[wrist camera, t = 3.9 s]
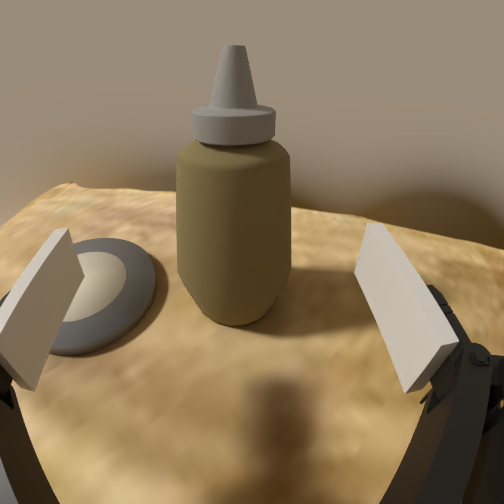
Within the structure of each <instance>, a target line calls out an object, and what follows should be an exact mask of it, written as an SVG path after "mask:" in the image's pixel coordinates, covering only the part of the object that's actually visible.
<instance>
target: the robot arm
mask: <svg viewBox="0 0 504 504" xmlns="http://www.w3.org/2000/svg"><path fill="white" fill-rule="evenodd" d="M354 274H355V276H356V278H357V280H358V282H359V284H360V286H361V289H362V291H363V293H364V295H365V297H366V300H367V302H368V304H369V306H370V309H371V311H372V313H373V315H374V318H375V320H376V322H377V325H378V327H379V329H380V332H381V334H382V337H383V339H384V341H385V344H386V346H387V349H388V351H389V354H390V356H391V359H392V361H393V364H394V366H395V369H396V372H397V374H398V377H399V380H400V382H401V385H402V388H403V390H404V393H405V394H406V393H410V392H414V391H418V390H421V389H423V388H424V386H425V385H426V384H427V383H428V382H429V380H430V382H431V385H432V388H431V389H430V391H429V392H428V393H427V394H426V395H425V396H424V397H423V398H422V400H421V401H420V404H422V403H423V402H424V401H425V400H426V399H427V400H426V402H425V405H424V408H423V411H422V414H421V416H420V419H419V422H418V424H417V427H416V429H415V432H414V434H413V437H412V439H411V441H410V444H409V446H408V448H407V451H406V453H405V455H404V457H403V459H402V461H401V463H400V466H399V468H398V470H397V472H396V474H395V476H394V478H393V480H392V481H391V483H390V485H389V487H388V489H387V491H386V493H385V494H384V496H383V498H382V500H381V501H380V503H379V504H460V503H461V504H504V406H503V407H502V408H501V406H500V401H502V400H504V356H499V355H491V354H490V352H489V351H488V350H487V349H486V348H485V347H484V346H482V345H481V344H478V343H471V341H470V339H469V338H468V336H467V334H466V332H465V331H464V329H463V327H462V326H461V324H460V322H459V321H458V319H457V317H456V316H455V314H454V313H453V311H452V309H451V308H450V306H449V305H448V303H447V301H446V300H445V298H444V297H443V295H442V293H440V292H439V291H438V290H437V289H436V288H435V287H434V286H432V285H425V283H424V281H423V280H422V278H421V277H420V275H419V274H418V272H417V271H416V269H415V268H414V266H413V265H412V264H411V262H410V261H409V259H408V258H407V256H406V255H405V253H404V252H403V251H402V249H401V248H400V246H399V245H398V244H397V242H396V241H395V240H394V238H393V237H392V235H391V234H390V233H389V231H388V230H387V229H386V227H385V226H384V225H383V223H367V225H366V230H365V234H364V238H363V242H362V246H361V249H360V253H359V257H358V261H357V264H356V268H355V271H354ZM84 277H85V275H84V273H83V270H82V268H81V265H80V262H79V259H78V256H77V254H76V251H75V248H74V245H73V242H72V239H71V236H70V233H69V229H55V230H54V232H53V233H52V234H51V235H50V237H49V238H48V239H47V240H46V242H45V243H44V244H43V246H42V247H41V248H40V250H39V251H38V252H37V254H36V255H35V256H34V258H33V259H32V260H31V262H30V263H29V265H28V266H27V267H26V269H25V270H24V272H23V273H22V275H21V276H20V278H19V279H18V280H17V282H16V283H15V285H14V287H13V288H12V290H10V291H9V292H8V293H7V294H6V295H5V296H4V297H3V298H2V299H1V301H0V504H60V503H59V501H58V499H57V498H56V496H55V494H54V492H53V490H52V488H51V486H50V484H49V482H48V480H47V478H46V476H45V474H44V471H43V469H42V467H41V465H40V462H39V460H38V458H37V455H36V453H35V450H34V448H33V445H32V443H31V440H30V437H29V435H28V432H27V429H26V426H25V423H24V420H23V417H22V414H21V411H20V408H19V404H18V401H17V397H16V394H15V390H14V388H13V387H12V386H11V383H12V380H14V381H15V382H16V383H17V384H18V385H19V386H20V387H21V388H23V389H27V390H30V391H34V392H35V389H36V386H37V384H38V381H39V378H40V375H41V373H42V370H43V367H44V365H45V362H46V360H47V357H48V355H49V352H50V350H51V347H52V345H53V342H54V340H55V338H56V335H57V333H58V331H59V328H60V326H61V324H62V322H63V320H64V317H65V315H66V313H67V311H68V309H69V307H70V305H71V303H72V301H73V299H74V296H75V294H76V292H77V290H78V289H79V287H80V285H81V283H82V281H83V279H84ZM461 500H462V502H461Z"/></svg>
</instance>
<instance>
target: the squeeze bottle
mask: <svg viewBox="0 0 504 504" xmlns="http://www.w3.org/2000/svg"><path fill="white" fill-rule="evenodd" d="M275 117H276V111H275V110H274V109H273V108H271V107H267V106H262V105H257V101H256V96H255V91H254V86H253V82H252V76H251V71H250V66H249V62H248V57H247V53H246V48H245V46H235V45H232V46H223V49H222V53H221V57H220V61H219V65H218V70H217V74H216V79H215V83H214V88H213V92H212V97H211V101H210V105H207V106H201V107H198V108H195V109H193V111H192V112H191V123H192V138H194V139H195V141H193V142H191V143H189V144H187V145H186V146H185V147H184V148H183V149H182V150H181V151H180V153H179V155H178V157H177V180H176V181H177V183H176V185H177V186H176V226H177V264H178V274H179V276H180V278H181V280H182V282H183V284H184V286H185V287H186V289H187V290H188V292H189V293H190V295H191V296H192V298H193V299H194V301H195V302H196V304H197V305H198V307H199V308H200V310H201V311H202V313H203V314H204V315H205V316H207V317H208V318H210V319H211V320H212V321H214V322H217V323H221V324H224V325H228V326H236V325H246V324H249V323H252V322H254V321H257V320H259V319H260V318H261V317H263V316H264V315H265V314H266V313H267V312H268V311H269V310H270V308H271V306H272V305H273V303H274V302H275V300H276V298H277V297H278V295H279V293H280V292H281V290H282V289H283V287H284V285H285V284H286V282H287V279H288V276H289V273H290V270H291V186H290V156H289V154H288V153H287V151H286V150H285V149H284V148H283V147H282V146H281V145H280V144H279V143H278V142H275V141H273V140H271V139H272V138H273V137H274V136H275V119H276V118H275Z"/></svg>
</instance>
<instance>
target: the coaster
mask: <svg viewBox="0 0 504 504" xmlns="http://www.w3.org/2000/svg"><path fill="white" fill-rule="evenodd" d="M73 245H74V248H75V251H76V254H77V256H78V259H79V262H80V265H81V268H82V270H83V273H84V275H85V277H84V279H83V281H82V283H81V285H80V287H79V289H78V290H77V292H76V294H75V296H74V299H73V301H72V303H71V305H70V307H69V309H68V311H67V313H66V315H65V317H64V320H63V322H62V324H61V326H60V328H59V331H58V333H57V335H56V338H55V340H54V342H53V345H52V347H51V350H50V352H49V353H50V354H54V355H62V356H70V355H80V354H85V353H89V352H92V351H96V350H98V349H100V348H103V347H105V346H107V345H109V344H111V343H113V342H115V341H116V340H118V339H119V338H121V337H122V336H124V335H125V334H127V333H128V332H129V331H130V330H131V329H132V328H133V327H134V326H135V325H136V324H137V323H138V322H139V321H140V320H141V319H142V318H143V316H144V315H145V313H146V312H147V311H148V309H149V307H150V305H151V303H152V301H153V298H154V296H155V291H156V275H155V270H154V266H153V263H152V260H151V258H150V256H149V255H148V254H147V253H146V251H145V250H144V249H142V248H141V247H139V246H138V245H136V244H134V243H132V242H129V241H126V240H121V239H115V238H98V239H91V240H86V241H81V242H78V243H75V244H73Z"/></svg>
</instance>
